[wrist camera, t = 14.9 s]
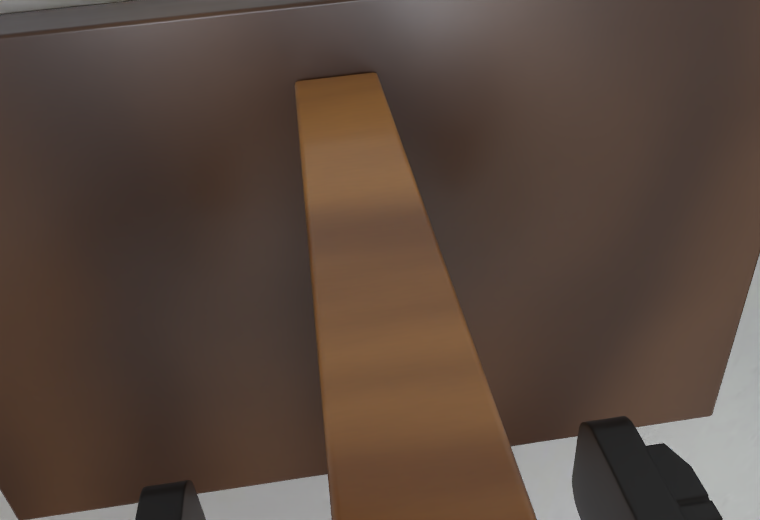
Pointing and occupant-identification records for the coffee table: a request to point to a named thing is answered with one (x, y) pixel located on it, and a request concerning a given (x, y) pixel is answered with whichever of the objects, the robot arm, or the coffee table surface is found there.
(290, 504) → the coffee table surface
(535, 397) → the cutting board
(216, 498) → the coffee table surface
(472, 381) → the toast
